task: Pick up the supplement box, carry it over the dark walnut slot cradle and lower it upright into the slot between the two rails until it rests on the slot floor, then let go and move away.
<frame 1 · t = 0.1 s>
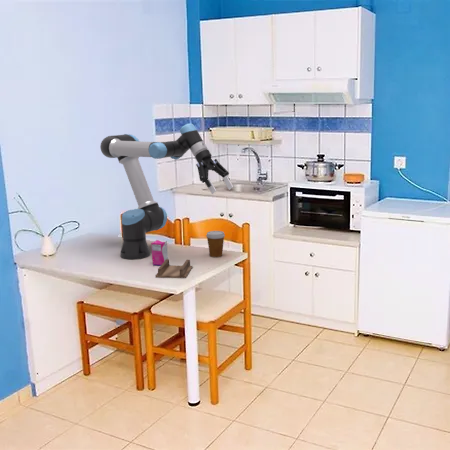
hand: (222, 190, 267), 36 cm above the table, fingers open, 13 cm apart
supplement box: (160, 264, 276), on the table
slot cradle: (174, 272, 262), on the table
disposable coffee cup: (216, 255, 289), on the table
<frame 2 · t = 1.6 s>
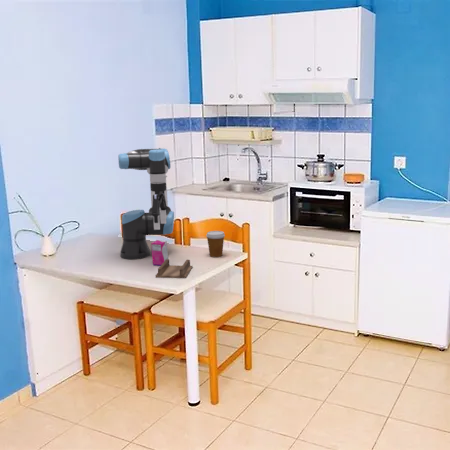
hand: (160, 226, 271), 19 cm above the table, fingers open, 13 cm apart
nothing on the table moved.
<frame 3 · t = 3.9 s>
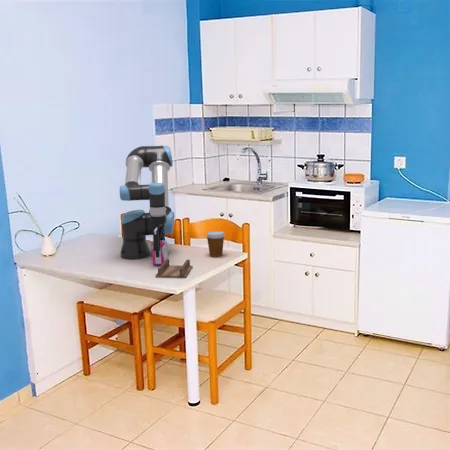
hand: (160, 261, 275), 2 cm above the table, fingers closed on supplement box, 7 cm apart
supplement box: (160, 264, 276), on the table, touching gripper
everything else where it was.
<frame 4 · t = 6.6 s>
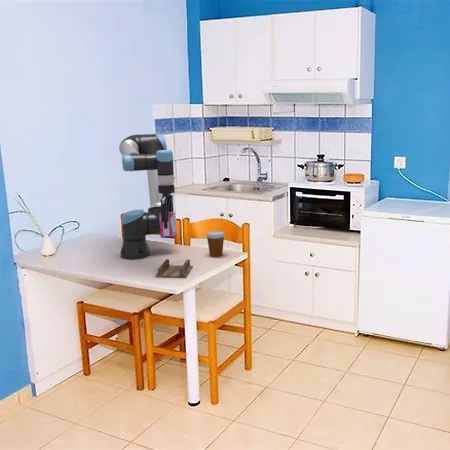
hand: (168, 233, 261), 18 cm above the table, fingers closed on supplement box, 7 cm apart
supplement box: (168, 237, 261), point 16 cm above the table, touching gripper
everything else where it was.
when the fingers open (3 cm above the table, at t = 9.4 s): supplement box stays where it is, resting on slot cradle.
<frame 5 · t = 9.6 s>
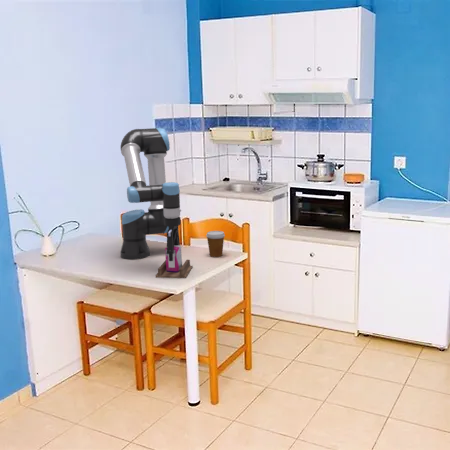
hand: (174, 264, 261), 4 cm above the table, fingers open, 9 cm apart
supplement box: (174, 270, 262), point 1 cm above the table, touching slot cradle
everything else where it was.
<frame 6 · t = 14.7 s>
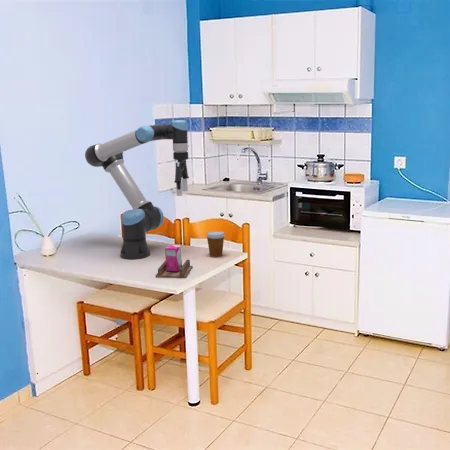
hand: (182, 193, 287), 32 cm above the table, fingers open, 13 cm apart
nothing on the table moved.
at the end: supplement box inside the target area on the slot cradle (0.1 cm from its centre), point 0.8 cm above the slot cradle's base; supplement box tilted 0°; the gripper is holding nothing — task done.
